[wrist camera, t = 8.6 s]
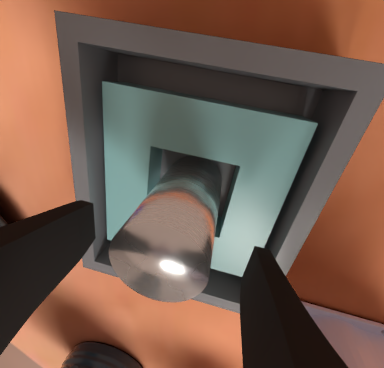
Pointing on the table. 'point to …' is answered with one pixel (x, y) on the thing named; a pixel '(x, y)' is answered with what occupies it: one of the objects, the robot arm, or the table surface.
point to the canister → (98, 357)
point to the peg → (171, 234)
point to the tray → (226, 79)
